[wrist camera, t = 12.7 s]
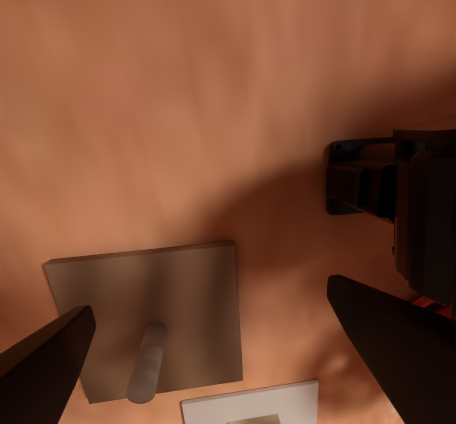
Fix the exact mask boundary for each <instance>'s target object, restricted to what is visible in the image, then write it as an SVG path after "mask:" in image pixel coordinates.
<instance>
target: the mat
mask: <svg viewBox="0 0 456 424" xmlns="http://www.w3.org/2000/svg"><path fill="white" fill-rule="evenodd" d="M318 389H319V382H318V380H311V381H305V382H298V383H292V384H286V385H279V386H273V387H267V388H260V389H254V390H247V391H241V392H235V393H228V394H222V395H216V396H209V397H203V398H197V399H190V400H184V401H182V408H183V414H184V420H185V424H229V422H231V421H237V420H243V419H249V418H255V417H261V416H267V415H273V414H278V416H279V420H280V423H281V424H316V420H317V404H318Z"/></svg>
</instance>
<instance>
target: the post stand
mask: <svg viewBox="0 0 456 424" xmlns="http://www.w3.org/2000/svg"><path fill="white" fill-rule="evenodd" d="M44 268H45V271H46V274H47V277H48V280H49V283H50V286H51V290H52V293H53V296H54V299H55V302H56V305H57V308H58V311H59V314H60V316H62V315H63V314H65V313H67V312H68V311H70V310H71V309H73V308H75V307H76V306H80V305H90V306H91V307H92V310H93V314H94V317H95V321H96V330H95V333H94V336H93V339H92V342H91V345H90V348H89V351H88V353H87V356H86V359H85V362H84V365H83V368H82V370H81V373H80V377H81V380H82V383H83V386H84V389H85V392H86V395H87V398H88V401H89V404H92V403H99V402H105V401H112V400H118V399H125V398H128V400H130V401H131V402H133V403H137V404H143V403H147V402H149V401H151V400H152V399H153V398H154V396H155V394H158V393H164V392H171V391H177V390H184V389H190V388H197V387H203V386H210V385H216V384H223V383H229V382H236V381H242V380H243V370H242V354H241V338H240V322H239V306H238V290H237V273H236V257H235V244H234V241H226V242H217V243H207V244H197V245H187V246H178V247H168V248H158V249H148V250H139V251H129V252H119V253H109V254H100V255H90V256H80V257H70V258H61V259H51V260H50V261H48V262H47V263H46V264H44Z"/></svg>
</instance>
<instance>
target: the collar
mask: <svg viewBox="0 0 456 424" xmlns="http://www.w3.org/2000/svg"><path fill="white" fill-rule="evenodd" d="M229 424H281V423H280V420H279V416H278V414H273V415H267V416H261V417H255V418H249V419H243V420H237V421H231V422H229Z"/></svg>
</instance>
